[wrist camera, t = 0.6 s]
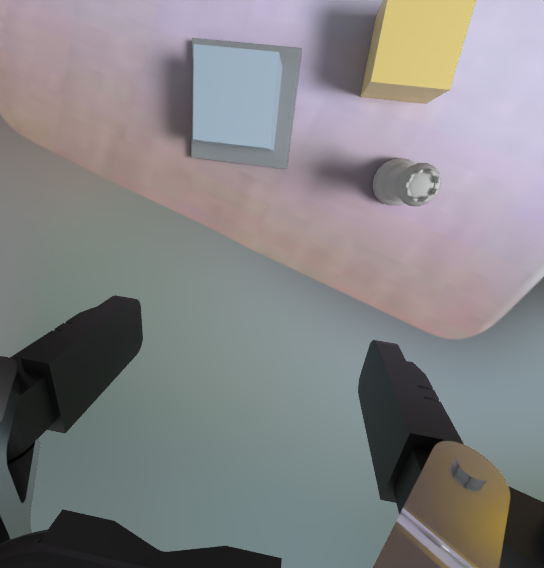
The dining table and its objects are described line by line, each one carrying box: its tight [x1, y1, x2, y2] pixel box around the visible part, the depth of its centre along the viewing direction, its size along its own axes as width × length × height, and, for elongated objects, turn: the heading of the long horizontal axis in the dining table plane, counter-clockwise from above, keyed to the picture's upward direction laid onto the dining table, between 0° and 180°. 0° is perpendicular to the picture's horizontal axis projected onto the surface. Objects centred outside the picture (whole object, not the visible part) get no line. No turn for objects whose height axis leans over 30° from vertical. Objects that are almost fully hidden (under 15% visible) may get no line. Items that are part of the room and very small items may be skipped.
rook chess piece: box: [372, 158, 441, 206], centre depth 25 cm, size 4×4×8 cm
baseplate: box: [191, 38, 302, 169], centre depth 26 cm, size 10×10×4 cm
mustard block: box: [360, 0, 476, 104], centre depth 23 cm, size 6×6×5 cm
